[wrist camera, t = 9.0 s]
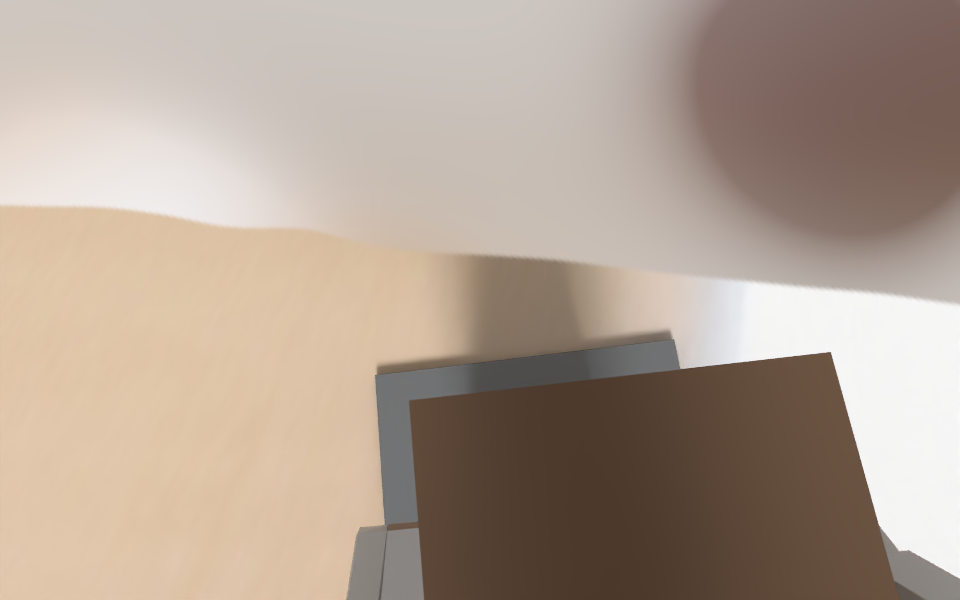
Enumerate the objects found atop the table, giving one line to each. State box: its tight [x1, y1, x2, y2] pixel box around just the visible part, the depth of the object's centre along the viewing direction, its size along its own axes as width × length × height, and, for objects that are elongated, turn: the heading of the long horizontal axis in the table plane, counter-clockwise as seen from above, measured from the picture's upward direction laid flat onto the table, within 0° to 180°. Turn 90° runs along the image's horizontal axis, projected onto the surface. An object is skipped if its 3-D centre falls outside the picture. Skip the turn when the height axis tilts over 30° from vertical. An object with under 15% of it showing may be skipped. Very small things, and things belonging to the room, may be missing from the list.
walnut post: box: [409, 352, 899, 600], centre depth 11 cm, size 5×5×9 cm
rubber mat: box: [375, 339, 680, 525], centre depth 27 cm, size 14×14×1 cm
